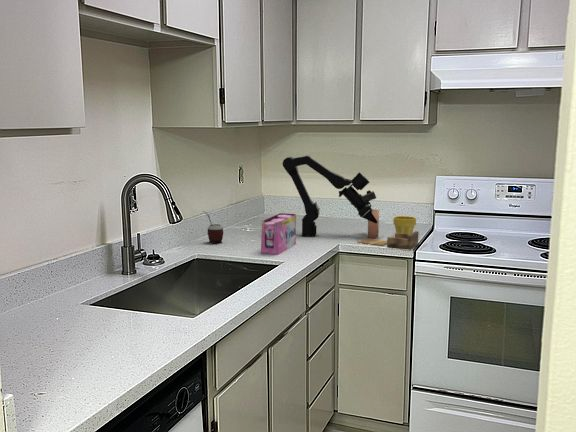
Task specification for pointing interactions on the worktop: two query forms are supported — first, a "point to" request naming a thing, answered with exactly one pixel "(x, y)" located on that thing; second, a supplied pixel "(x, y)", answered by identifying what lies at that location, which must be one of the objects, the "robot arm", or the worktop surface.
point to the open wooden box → (403, 241)
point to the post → (373, 225)
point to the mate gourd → (214, 232)
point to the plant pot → (404, 224)
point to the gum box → (278, 233)
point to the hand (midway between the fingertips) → (376, 221)
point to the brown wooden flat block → (373, 242)
